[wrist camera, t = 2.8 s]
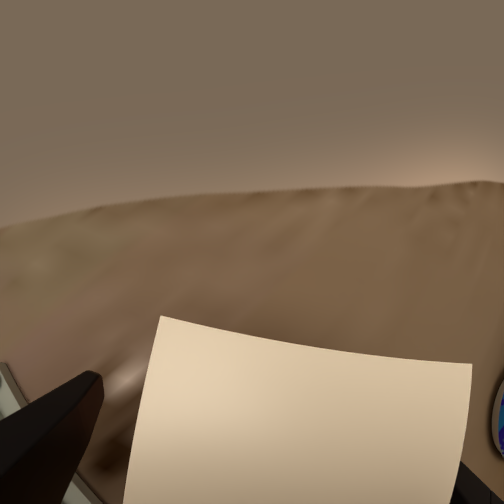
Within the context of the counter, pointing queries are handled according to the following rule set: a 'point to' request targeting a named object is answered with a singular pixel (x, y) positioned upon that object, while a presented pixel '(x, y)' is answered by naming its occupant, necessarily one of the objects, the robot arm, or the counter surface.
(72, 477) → the robot arm
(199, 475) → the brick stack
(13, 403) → the baseplate
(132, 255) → the counter surface
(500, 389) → the beer can
